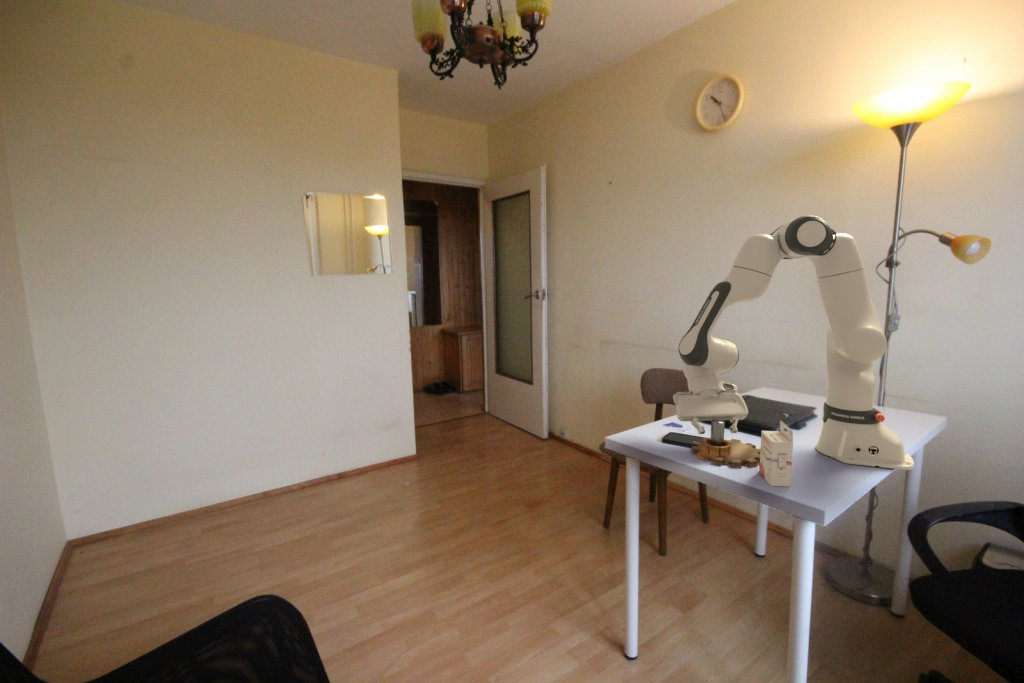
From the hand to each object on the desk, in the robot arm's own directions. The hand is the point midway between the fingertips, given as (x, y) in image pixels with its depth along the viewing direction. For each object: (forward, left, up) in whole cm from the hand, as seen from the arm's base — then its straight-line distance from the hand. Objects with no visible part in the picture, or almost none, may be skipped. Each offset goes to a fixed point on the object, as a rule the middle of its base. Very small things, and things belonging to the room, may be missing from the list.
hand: (718, 432), depth 133 cm
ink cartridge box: (-15, +8, -8) cm, 19 cm away
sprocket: (-2, -4, -7) cm, 8 cm away
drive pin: (0, -1, -6) cm, 6 cm away
